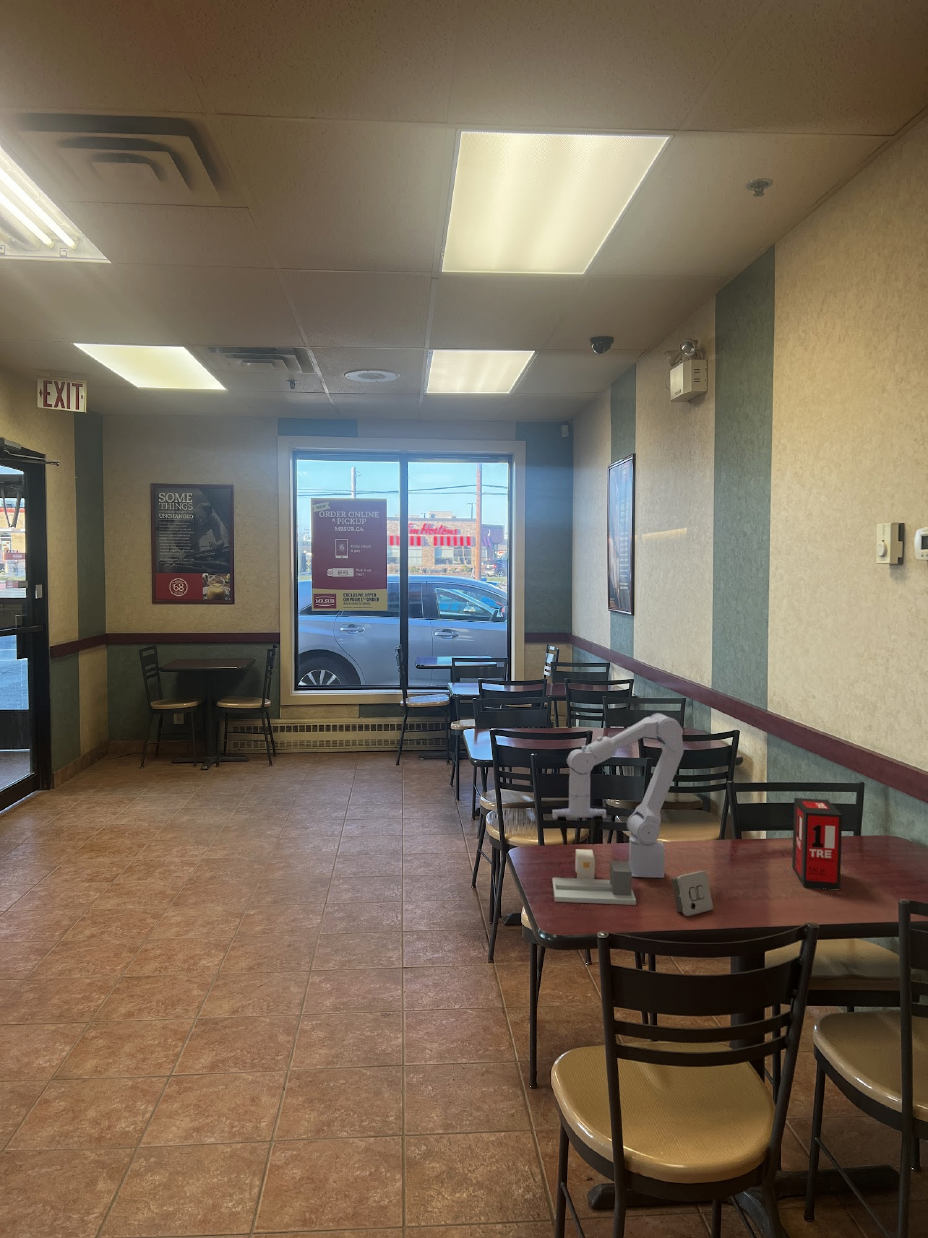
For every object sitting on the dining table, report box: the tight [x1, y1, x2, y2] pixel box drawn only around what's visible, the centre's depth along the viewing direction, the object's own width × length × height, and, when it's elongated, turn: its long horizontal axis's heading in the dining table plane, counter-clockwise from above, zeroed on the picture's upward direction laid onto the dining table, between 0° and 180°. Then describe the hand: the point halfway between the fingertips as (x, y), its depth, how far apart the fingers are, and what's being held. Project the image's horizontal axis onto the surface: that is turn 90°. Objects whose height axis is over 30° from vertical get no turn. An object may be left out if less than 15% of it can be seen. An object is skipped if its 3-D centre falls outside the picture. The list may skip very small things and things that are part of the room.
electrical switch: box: [671, 870, 714, 917], centre depth 201 cm, size 9×5×9 cm, turn 121°
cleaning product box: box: [791, 797, 843, 890], centre depth 225 cm, size 16×9×20 cm, turn 168°
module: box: [574, 848, 596, 879], centre depth 224 cm, size 4×9×6 cm, turn 176°
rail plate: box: [551, 860, 637, 906], centre depth 211 cm, size 20×14×7 cm
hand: (578, 843), depth 225 cm, fingers open, 7 cm apart
